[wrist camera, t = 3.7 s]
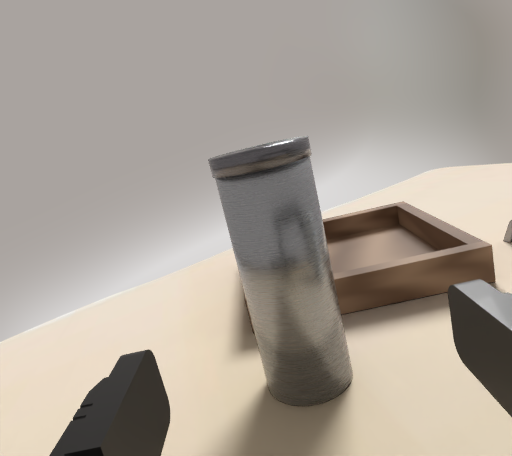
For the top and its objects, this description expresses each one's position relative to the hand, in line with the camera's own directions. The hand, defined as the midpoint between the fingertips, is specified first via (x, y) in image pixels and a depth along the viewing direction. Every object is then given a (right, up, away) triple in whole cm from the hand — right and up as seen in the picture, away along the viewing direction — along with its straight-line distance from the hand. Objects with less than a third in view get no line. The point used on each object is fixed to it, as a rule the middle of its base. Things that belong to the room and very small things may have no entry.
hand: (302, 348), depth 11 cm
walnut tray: (+6, 0, +24) cm, 25 cm away
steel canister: (+2, -5, +11) cm, 12 cm away
